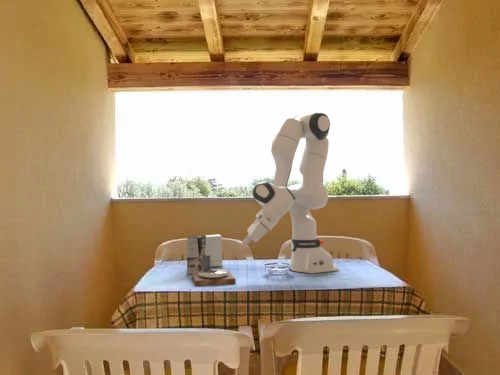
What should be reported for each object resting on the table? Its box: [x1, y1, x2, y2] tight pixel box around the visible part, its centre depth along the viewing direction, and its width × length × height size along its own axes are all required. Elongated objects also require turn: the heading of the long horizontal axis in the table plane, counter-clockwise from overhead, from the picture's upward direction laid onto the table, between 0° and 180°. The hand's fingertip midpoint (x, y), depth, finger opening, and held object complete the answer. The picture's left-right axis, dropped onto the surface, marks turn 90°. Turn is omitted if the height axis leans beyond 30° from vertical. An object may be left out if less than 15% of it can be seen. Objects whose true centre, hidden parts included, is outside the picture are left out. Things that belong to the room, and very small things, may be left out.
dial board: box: [191, 270, 237, 287], centre depth 186 cm, size 16×15×2 cm
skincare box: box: [203, 233, 223, 268], centre depth 216 cm, size 8×6×15 cm
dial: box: [199, 254, 229, 279], centre depth 185 cm, size 12×12×8 cm
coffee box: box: [186, 234, 206, 275], centre depth 202 cm, size 9×6×16 cm
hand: (243, 244), depth 189 cm, fingers closed
